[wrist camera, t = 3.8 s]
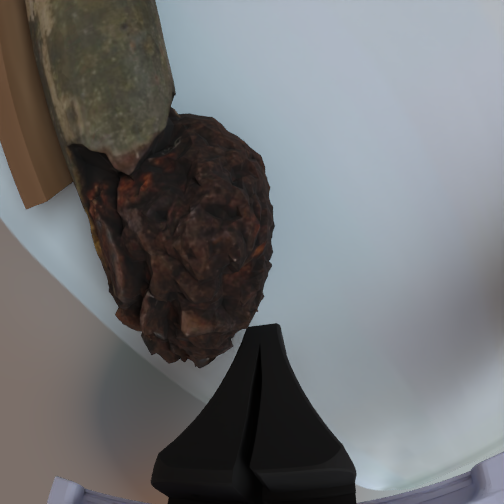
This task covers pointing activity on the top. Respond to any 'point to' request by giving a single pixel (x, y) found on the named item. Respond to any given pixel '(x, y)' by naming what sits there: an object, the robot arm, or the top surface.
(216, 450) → the robot arm
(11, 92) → the corner fence
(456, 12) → the top surface
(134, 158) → the brown rock
